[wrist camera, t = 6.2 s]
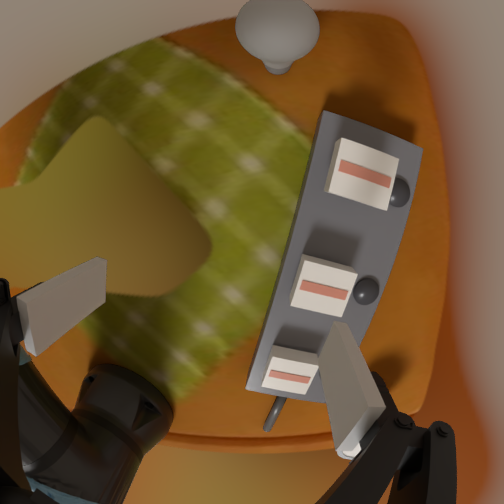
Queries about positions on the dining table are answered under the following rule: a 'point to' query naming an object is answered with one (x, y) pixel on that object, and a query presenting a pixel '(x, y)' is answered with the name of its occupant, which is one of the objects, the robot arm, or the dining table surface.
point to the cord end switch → (289, 370)
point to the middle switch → (322, 286)
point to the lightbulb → (277, 31)
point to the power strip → (335, 250)
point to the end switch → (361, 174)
